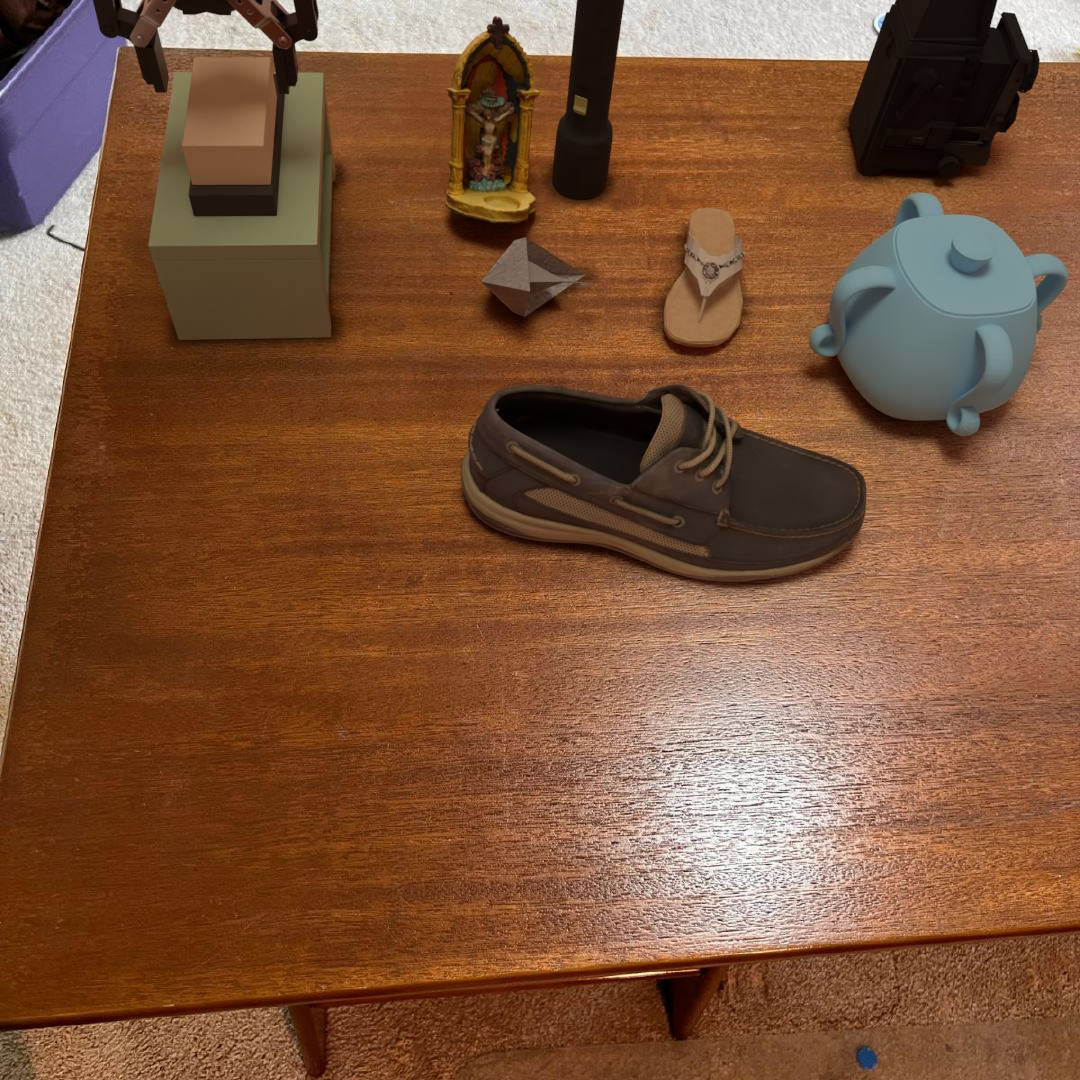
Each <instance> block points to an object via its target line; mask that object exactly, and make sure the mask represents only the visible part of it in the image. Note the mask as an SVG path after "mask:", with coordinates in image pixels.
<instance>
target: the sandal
mask: <svg viewBox="0 0 1080 1080" xmlns="http://www.w3.org/2000/svg"><path fill="white" fill-rule="evenodd" d="M683 247H684V251H685V254H684V260H683V263H684V264H685V266H684V269H683V270H682V272H681V273H680V275H679V276H678V277H677V279H676V280H675V282H674V283H673V285H672V287H671V288H670V290H669V291H668V294H667V296H666V298H665V302H664V306H663V312H662V317H663V318H662V320H663V331H664V333H665V335H666V337H667V338H668V339H669V340H670V341H672V342H673V343H675V344H679V345H682V346H685V347H691V348H693V347H694V348H711V347H717V346H720V345H721V344H723V343H725V342H727V341H728V340H730V339H731V337H732V336H733V335H734V334H735V332H736V331H737V329H738V328H739V327H740V323H741V319H742V315H743V307H744V298H743V293H742V287H741V281H740V274H739V272H740V271H741V270H742V269H743V267H744V266H743V257H745V253H746V252H745V250H744V249H743V240H742V237H741V236H740V235H738V234H737V235H736V228H735V224H734V220H733V216H731V214H730V213H729V212H728V211H725V210H724V209H721V208H715V207H699V208H697V209H696V210H694V211H693V212H691V213H690V216H689V218H688V223H687V231H686V240H685V244H684V246H683Z"/></svg>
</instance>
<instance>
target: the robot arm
mask: <svg viewBox="0 0 1080 1080" xmlns="http://www.w3.org/2000/svg"><path fill="white" fill-rule="evenodd" d="M292 1H293V5H294V12H291V13H289V11H287V10H286V8H285V7H284V6H283V5H282V4H281V3H280V2H279V0H141V1H140V2H139V4H138V6H137V8H136V10H135V11H134V10H131V9H127V8H124V7H123V2H122V0H92V3H93V8H94V11H95V15H96V19H97V24H98V28H99V31H100V33H101V34H102V35H103V37H106V38H108V39H115V38H117V37H120V38H123V39H126V40H127V41H129V42H130V43H131V44H132V45H133V47H134V51H135V55H136V58H137V61H138V65H139V69H140V74H141V76H142V79H143V81H144V83H146V84H147V85H149V86H153V89H154V91H155V93H158V94H159V93H160V94H166V93H167V92H168V87H169V81H170V80H169V79H170V77H169V70H168V66H167V62H166V57H165V53H164V50H163V46H162V41H161V38H160V34H159V30H158V29H159V28H161V26H162V25H163V24H164V22H165V20H166V19H167V18H168V15H169V14H170V12H171V10H172V9H173V8H175V10H178V11H181V12H182V15H184V16H185V15H187V16H196V15H200V14H203V13H209V14H213V15H217V16H232V12H234V11H236V12H237V13H238V14H239V15H240V16H241V17H242V18H243V19H244V20H245V21H246V22H247V23H248V24H249V25H250V26H251V27H252V28H254V29H258V30H260V31H261V32H262V33H263V34H264V35H265V36H266V37H267V38H268V39H269V40H270V41H271V42H272V46H271V48H272V49H271V52H272V59H273V65H274V70H275V71H274V72H276V78H277V85H278V91H279V94H289V92H290V86H296V83H297V79H298V72H299V64H298V56H297V50H296V44H297V43H298V42H300V41H303V40H304V41H306V42H313V41H315V40H316V39H318V37H319V36H318V35H319V28H318V27H319V26H318V25H319V23H318V22H319V21H318V20H319V17H320V15H319V14H320V13H319V11H320V10H319V6H318V0H292Z"/></svg>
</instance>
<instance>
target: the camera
mask: <svg viewBox="0 0 1080 1080" xmlns="http://www.w3.org/2000/svg"><path fill="white" fill-rule="evenodd" d="M997 4H998V0H895V2H894V3H892V4H891V6H890V8H889V11H886V12H885V15H884V18H883V21H882V24H881V26H880V29H879V32H878V34H877V37H876V40H875V43H874V46H873V49H872V50H871V51H872V52H871V54H870V57H869V60H868V63H867V64H866V65H867V66H866V69H865V71H864V74H863V77H862V80H861V83H860V85H859V87H858V90H857V94H856V97H855V99H854V101H853V102H854V103H853V105H852V108H851V111H850V113H849V115H848V116H849V117H848V123H849V128H850V132H851V136H852V141H853V145H854V148H855V153H856V156H857V157H856V158H857V162H858V166H859V170H862V173H863V174H864V175H865V176H877V175H880V173H881V172H882V171H883V170H885V171H908V172H929V173H931V172H932V173H933V172H935V173H938V175H939V176H940V177H941V178H945V179H946V178H952V177H954V176H955V175H956V174H957V173H958V172H959V171H960V169H961V166H972V167H973V166H974V167H986V165H987V163H988V162H989V160H990V158H991V153H992V152H991V150H992V142H993V140H994V138H995V137H996V134H997V133H1002V134H1006V133H1007V132H1008V130H1009V129H1010V128H1011V127H1012V125H1013V124H1015V122H1016V121H1017V116H1018V110H1019V105H1020V101H1021V97H1020V95H1019V93H1021V94H1026V93H1028V92H1029V91H1031V90H1032V88H1033V87H1034V85H1035V83H1036V79H1037V78H1038V75H1039V69H1040V63H1041V62H1040V61H1041V60H1040V56H1039V52H1038V49H1032V48H1029V46H1028V44H1027V40H1026V38H1025V36H1024V33H1023V31H1022V28H1021V25H1020V23H1019V20H1018V17H1017V14H1016V13H1015V12H1009V11H1008V12H1007V11H1002V13H1000V16H1001V17H1000V19H999V21H998V23H997V25H996V27H994V26H992V23H993V18H994V14H995V10H996V7H997Z"/></svg>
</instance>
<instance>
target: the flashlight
mask: <svg viewBox="0 0 1080 1080" xmlns="http://www.w3.org/2000/svg"><path fill="white" fill-rule="evenodd" d="M624 6H625V0H576V6H575V7H576V8H575V17H574V27H573V35H572V36H573V37H572V48H571V55H570V66H569V67H570V68H569V76H568V78H569V79H568V86H567V87H568V88H567V99H566V107H565V114H563V115H562V117H561V118H560V119H559V121H558V124H557V128H556V129H557V130H556V135H555V144H554V153H553V154H554V155H553V163H552V175H551V182H552V185H553V188H554V189H555V190H556V191H557V192H558V193H559V194H561V195H562V196H564V197H567V198H569V199H571V200H579V201H580V200H581V201H583V200H590V199H594V198H596V197H598V196H600V195H601V194H602V193H603V192H604V191H605V189H606V187H607V181H608V175H609V168H610V161H611V153H612V146H613V140H614V139H613V137H614V136H613V133H614V131H613V128H614V127H613V125H612V123H611V121H610V119H609V114H610V106H611V100H612V94H613V93H612V92H613V85H614V78H615V71H616V64H617V58H618V57H617V55H618V49H619V42H620V35H621V29H622V20H623V13H624Z"/></svg>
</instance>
